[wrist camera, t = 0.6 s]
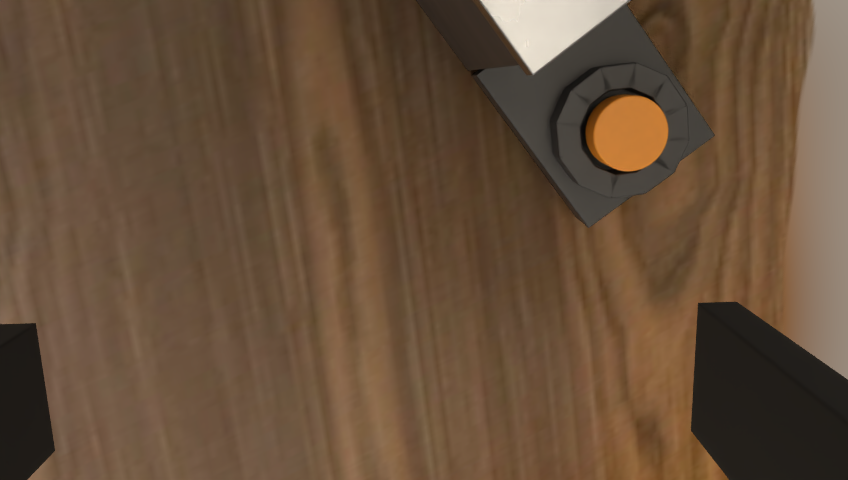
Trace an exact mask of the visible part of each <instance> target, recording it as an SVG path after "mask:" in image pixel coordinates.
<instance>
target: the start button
mask: <svg viewBox="0 0 848 480" xmlns="http://www.w3.org/2000/svg"><path fill="white" fill-rule="evenodd" d="M585 137H586V142H587V145H588V148H589V150H590V152H591V153H592V154H593V156H594V157H595V158H596V159H597V160H598V161H600V162H601V163H603V164H605V165H607V166H609V167H612V168H614V169H617V170H620V171H637V170H640V169H643V168H645V167H647V166H649V165H650V164H652V163H653V162H654V161H655V160H656V159H657V158H658V157H659V156H660V155H661V153H662V152H663V150H664V148H665V146H666V143H667V139H668V123H667V119H666V117H665V114H664V113H663V111H662V109H661V108H660V107H659V106H658V105H657V104H656V103H655V102H653V101H652V100H650V99H648V98H646V97H643V96H638V95H626V94H621V95H615V96H612V97H609V98H607V99H605V100H603V101H602V102H601V103H599V104H598V105H597V106H596V107H595V108H594V110H593V111H592V112H591V114H590V116H589V118H588V121H587V124H586V130H585Z"/></svg>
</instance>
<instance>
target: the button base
mask: <svg viewBox="0 0 848 480" xmlns="http://www.w3.org/2000/svg"><path fill="white" fill-rule="evenodd" d="M472 77H473V78H474V80H475V81H476V82H477V84H478V85H479V86H480V88H481V89H482V90H483V92H484V93H485V95H486V96H487V97H488V99H489V100H490V101H491V103H492V104H493V105H494V107H495V108H496V109H497V111H498V112H499V114H500V115H501V116H502V118H503V119H504V120H505V122H506V123H507V124H508V126H509V127H510V128H511V130H512V131H513V133H514V134H515V135H516V137H517V138H518V139H519V141H520V142H521V143H522V145H523V146H524V147H525V149H526V150H527V152H528V153H529V154H530V156H531V157H532V158H533V160H534V161H535V162H536V164H537V165H538V166H539V168H540V169H541V171H542V172H543V173H544V175H545V176H546V177H547V179H548V180H549V181H550V183H551V184H552V185H553V187H554V188H555V190H556V191H557V192H558V194H559V195H560V196H561V198H562V199H563V200H564V202H565V203H566V204H567V206H568V207H569V209H570V210H571V211H572V213H573V214H574V215H575V217H577V218H578V219H579V220H580V221H581V222H582V223H583V224H585V225H586V226H587V227H588V228H589V227H591V226H592V225H593V224H595V223H596V222H597V221H599V220H600V219H602V218H603V217H604V216H606V215H607V214H608V213H610V212H611V211H612V210H614V209H615V208H617V207H618V206H619V205H621V204H622V203H623V202H625V201H626V200H628V199H629V198H630V197H632V196H633V195H641V194H644V193H647V192H648V191H650V190H651V189H652V188H654V187H655V186H657V185H658V184H659V183H661V182H662V181H663V180H665V179H666V178H668V177H669V176H670V175H672V174H673V173H674V172H675V170H676V168H677V166H678V164H679V162H680V161H681V160H682V159H684V158H685V157H686V156H688V155H689V154H690V153H692V152H693V151H694V150H696V149H697V148H699V147H700V146H701V145H703V144H704V143H705V142H707V141H708V140H710V139H711V138H712V137H714V136H715V135H714V133H713V132H712V130H711V129H710V127H709V126H708V124H707V123H706V122H705V120H704V119H703V117H702V116H701V114H700V113H699V111H698V110H697V108H696V107H695V105H694V104H693V102H692V101H691V99H690V98H689V96H688V95H687V93H686V92H685V90H684V89H683V87H682V86H681V85H680V83H679V82H678V80H677V79H676V77H675V76H674V74H673V73H672V71H671V70H670V68H669V67H668V65H667V64H666V62H665V61H664V59H663V58H662V56H661V55H660V53H659V52H658V50H657V49H656V47H655V46H654V45H653V43H652V42H651V40H650V39H649V37H648V36H647V34H646V33H645V31H644V30H643V28H642V27H641V25H640V24H639V22H638V21H637V19H636V18H635V16H634V15H633V13H632V12H631V10H630V9H629V8H628V6H627V5H624V6H623V7H622V8H620V9H619V10H618V11H617V12H615V13H614V14H613V15H611V16H610V17H609V18H607V19H606V20H605V21H604V22H602V23H601V24H600V25H598V26H597V27H596V28H594V29H593V30H592V31H591V32H589V33H588V34H587V35H585V36H584V37H583V38H582V39H580V40H579V41H578V42H576V43H575V44H574V45H572V46H571V47H570V48H569V49H567V50H566V51H565V52H563V53H562V54H561V55H559V56H558V57H557V58H556V59H554V60H553V61H552V62H550V63H549V64H548V65H547V66H545V67H544V68H543V69H541V70H540V71H539V72H537V73H536V74H535V75H526V74H525V73H524V71H523V70H522V68H521V67H520V66H519V65H516V66H507V67H498V68H488V69H479V70H478V71H476V72H475V73H474V74H473V75H472ZM621 94H626V95H638V96H643V97H646V98H648V99H650V100H652V101H653V102H655V103H656V104H657V105H658V106H659V107H660V108H661V109H662V111H663V113H664V114H665V117H666V119H667V123H668V139H667V143H666V146H665V148H664V150H663V152H662V153H661V155H660V156H659V157H658V158H657V159H656V160H655V161H654V162H653V163H652V164H650V165H649V166H647V167H645V168H643V169H640V170H637V171H620V170H617V169H614V168H612V167H609V166H607V165H605V164H603V163H601V162H600V161H598V160H597V159H596V158H595V157H594V156H593V154H592V153H591V152H590V150H589V148H588V145H587V142H586V137H585V130H586V124H587V121H588V118H589V116H590V114H591V112H592V111H593V110H594V108H595V107H596V106H597V105H598V104H599V103H601V102H602V101H603V100H605V99H607V98H609V97H612V96H615V95H621Z"/></svg>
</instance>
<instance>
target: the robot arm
mask: <svg viewBox="0 0 848 480" xmlns="http://www.w3.org/2000/svg"><path fill="white" fill-rule="evenodd" d="M691 431H692V432H693V434H694V435H695V436H696V438H697V439H698V440H699V441H700V443H701V444H702V445H703V447H704V448H705V449H706V450H707V452H708V453H709V454H710V455H711V457H712V458H713V459H714V461H715V462H716V463H717V464H718V466H719V467H720V468H721V470H722V471H723V472H724V473H725V475H726V476H727V477H728V479H729V480H848V380H847V379H846V378H844V377H843V376H842V375H840V374H839V373H837V372H836V371H835V370H833V369H832V368H830V367H829V366H827V365H826V364H825V363H823V362H822V361H820V360H819V359H817V358H816V357H815V356H813V355H812V354H810V353H809V352H807V351H806V350H805V349H803V348H802V347H800V346H799V345H797V344H796V343H795V342H793V341H792V340H790V339H789V338H788V337H786V336H785V335H783V334H782V333H780V332H779V331H778V330H776V329H775V328H773V327H772V326H770V325H769V324H768V323H766V322H765V321H763V320H762V319H760V318H759V317H758V316H756V315H755V314H753V313H752V312H750V311H749V310H748V309H746V308H745V307H743V306H742V305H740V304H739V303H738V302H715V303H698V315H697V333H696V350H695V368H694V386H693V403H692V421H691ZM54 451H55V448H54V441H53V434H52V428H51V421H50V415H49V408H48V401H47V395H46V388H45V382H44V375H43V368H42V362H41V355H40V348H39V342H38V335H37V329H36V323H31V324H0V480H27V479H28V478H29V477H30V476H31V475H32V474H33V473H34V472H35V471H36V470H37V469H38V468H39V467H40V466H41V465H42V464H43V463H44V462H45V461H46V460H47V458H48V457H49V456H50V455H51V454H52V453H53V452H54Z"/></svg>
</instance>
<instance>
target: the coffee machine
mask: <svg viewBox="0 0 848 480" xmlns="http://www.w3.org/2000/svg"><path fill="white" fill-rule="evenodd" d="M416 1H417V2H418V4H419V5H420V6H421V8H422V9H423V10H424V12H425V13H426V15H427V16H428V17H429V19H430V20H431V21H432V23H433V24H434V25H435V27H436V28H437V29H438V31H439V32H440V34H441V35H442V36H443V38H444V39H445V40H446V42H447V43H448V44H449V46H450V47H451V48H452V50H453V51H454V53H455V54H456V55H457V57H458V58H459V59H460V61H461V62H462V63H463V65H464V66H465V67H466V69H467V70H468V71H469V70H479V69H488V68H498V67H507V66H516V65H519V66H520V67H521V68H522V70H523V71H524V73H525V74H526V75H535V74H536V73H537V72H539V71H540V70H541V69H543V68H544V67H545V66H547V65H548V64H549V63H550V62H552V61H553V60H554V59H556V58H557V57H558V56H559V55H561V54H562V53H563V52H565V51H566V50H567V49H569V48H570V47H571V46H572V45H574V44H575V43H576V42H578V41H579V40H580V39H582V38H583V37H584V36H585V35H587V34H588V33H589V32H591V31H592V30H593V29H594V28H596V27H597V26H598V25H600V24H601V23H602V22H604V21H605V20H606V19H607V18H609V17H610V16H611V15H613V14H614V13H615V12H617V11H618V10H619V9H620V8H622V7H623V6H624V5H626V4H627V3H628V2H629V1H631V0H416Z"/></svg>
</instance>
